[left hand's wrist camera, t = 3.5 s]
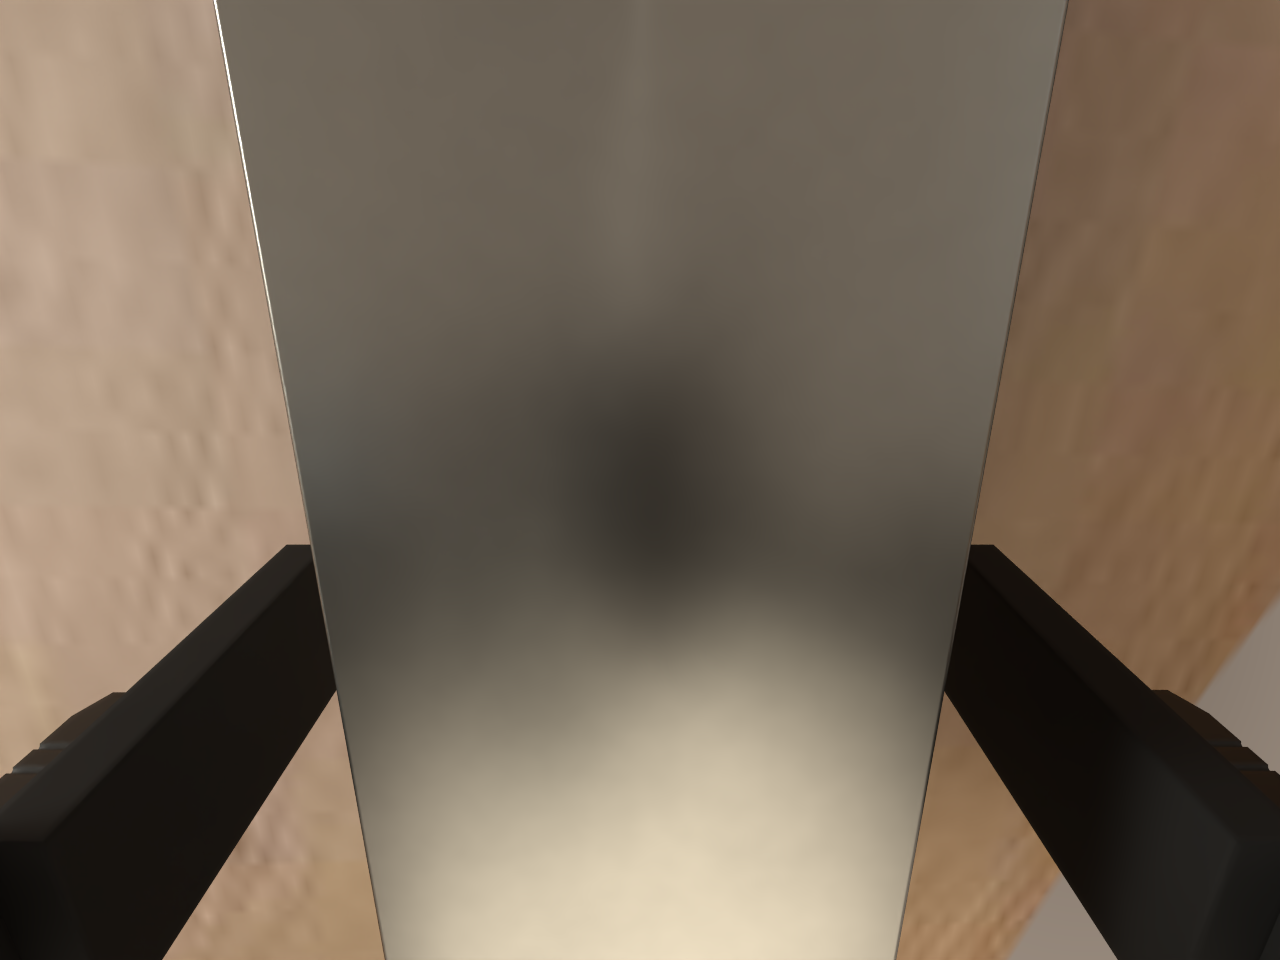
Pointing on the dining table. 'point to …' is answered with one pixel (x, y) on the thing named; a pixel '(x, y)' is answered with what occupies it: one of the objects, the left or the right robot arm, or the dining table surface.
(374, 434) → the bar
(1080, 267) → the dining table surface
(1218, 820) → the left robot arm
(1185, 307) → the dining table surface
